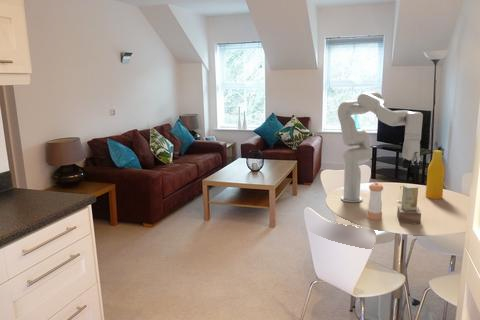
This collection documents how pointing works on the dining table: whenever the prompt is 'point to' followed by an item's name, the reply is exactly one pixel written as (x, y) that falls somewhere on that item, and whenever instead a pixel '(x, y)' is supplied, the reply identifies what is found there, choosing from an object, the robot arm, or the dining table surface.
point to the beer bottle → (435, 176)
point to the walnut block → (409, 216)
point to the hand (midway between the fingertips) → (410, 170)
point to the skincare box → (409, 198)
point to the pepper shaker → (375, 202)
